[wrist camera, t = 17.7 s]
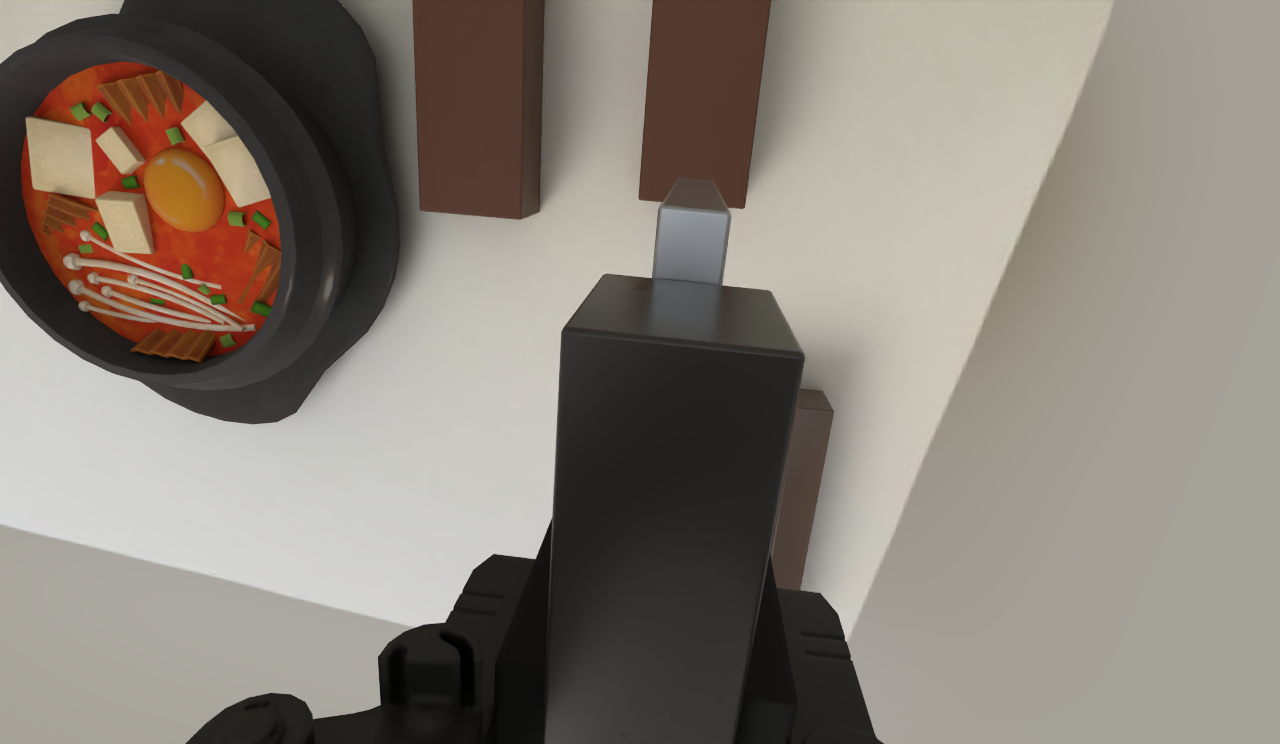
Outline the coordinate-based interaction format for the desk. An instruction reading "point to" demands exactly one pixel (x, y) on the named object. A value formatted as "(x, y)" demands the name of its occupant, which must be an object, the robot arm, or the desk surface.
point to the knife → (665, 490)
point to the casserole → (200, 196)
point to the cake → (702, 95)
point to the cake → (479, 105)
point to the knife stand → (800, 487)
